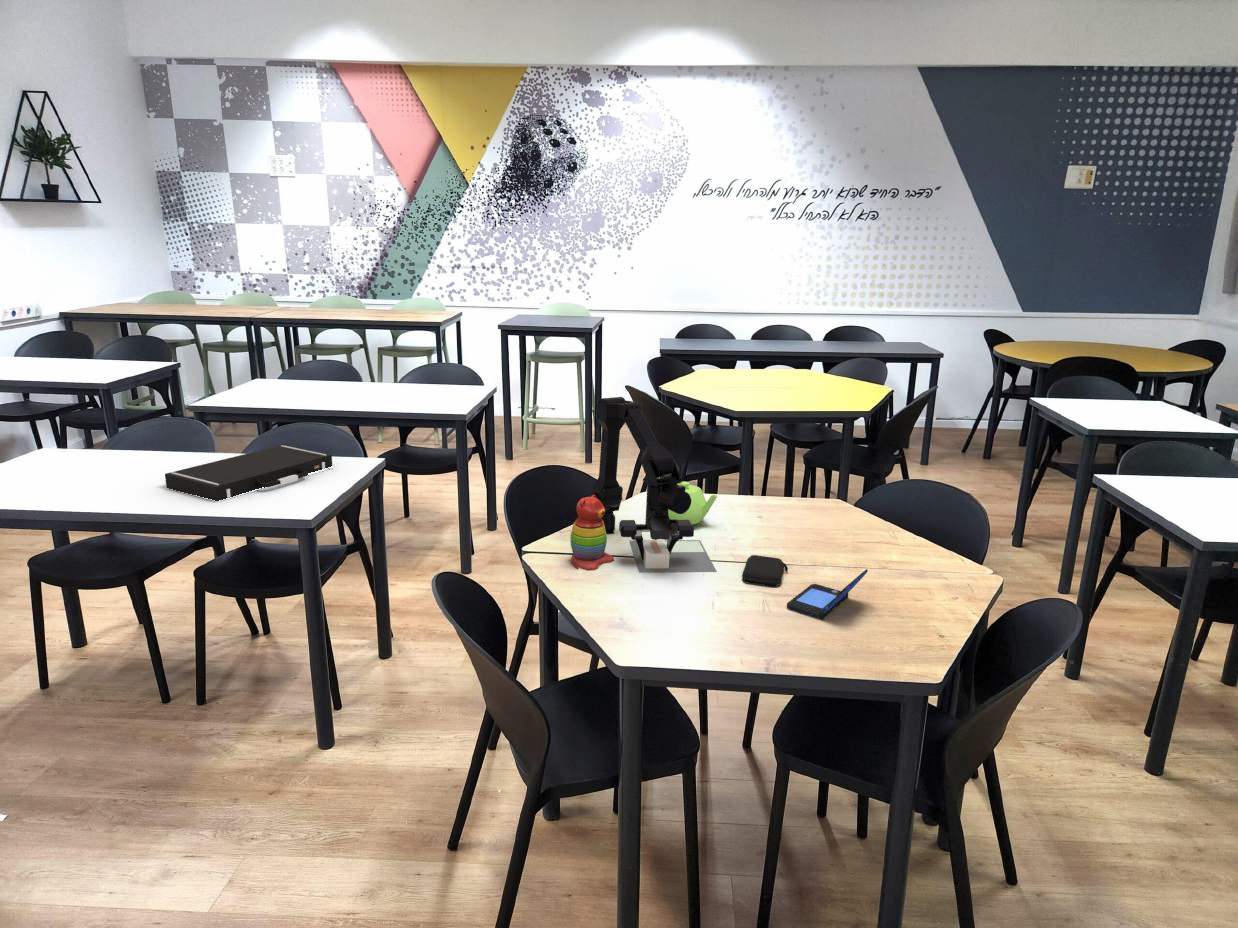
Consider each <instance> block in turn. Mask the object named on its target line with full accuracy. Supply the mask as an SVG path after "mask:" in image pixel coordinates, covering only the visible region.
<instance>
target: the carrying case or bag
mask: <svg viewBox="0 0 1238 928" xmlns="http://www.w3.org/2000/svg"><path fill="white" fill-rule="evenodd" d="M784 570H785V571H786V572H788V570H789V568H788V565H787V564H786V563H784V562H783V560H782V559H781V558H779V557H772V556H766V555H765V556H764V555H757V554H752V555H751V556H749V557H748V558H747V560H746V562H745V566H744V568H743V571H742V574H741V578H742V580H743V581H744V583H746V584H752V585H753V584H754V585H759V586H760V585H761V586H766V587H777V586H778V585H780V584H782V580H783V575H784Z"/></svg>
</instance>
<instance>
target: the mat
mask: <svg viewBox="0 0 1238 928" xmlns="http://www.w3.org/2000/svg"><path fill="white" fill-rule="evenodd" d="M628 541H629V546H630V548H631V551H632V555H633V558H634V561H635V564H636V568H637V572H638V573H639V574H642V573H643V574H645V573H646V574H649V573H650V574H651V573H653V574H654V573H657V574H658V573H662V574H663V573H717V572H718V571H717V569H716V567H715V566H714V563H713V562H712V560H711V558H710V556H709V555H708V552H707V550H706V549H705V547H704V545H703V543H702V541H701V539H690V540H689V539H682V540H678V541H677V542H676V543H675V545H674V547H673V549H672V551H671V554H670V556H669V568H645V565H644V562H643V560H642V558H641V554H640V551H639V547H638V544H637V542H636V540H632V539H631V540H628ZM643 541H664V542H665V544H666V546H667V540H664V539H657V540H653V539H649V540H647V539H646V540H645V539H643Z"/></svg>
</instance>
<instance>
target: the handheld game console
mask: <svg viewBox="0 0 1238 928" xmlns="http://www.w3.org/2000/svg"><path fill="white" fill-rule="evenodd" d="M868 572H869V570H868V569H865V570H864V571H862V572H861V573H860V574H859V575H858V576H857V577H855V578H854V579H853V580H852V581H850V583H848V584H846V586H845V587H844V588H843V589H842V590H839V589H834V588H832V587H827V586H825V585H821V584H817V583H813V584H810V585H809V586H807V587H806V588H805V589H804V590H803V591H801V592H800V593H798V594H797V595H796V596H795V597H793V598H792V599H791V600H789V601H788V602H787V603H786V608H787V609H788V610H789V611H793V612H795V613H799V614H802V615H804V616H808V617H811V618H815V619H816V620H820V621H824V620H825V619H826V617H828V616H829V615H830V614H831V613H832V612H833V610H834V609H835V608H837V607H839V606H840V605H841V604H842V603H844V601H846V600H847V599H848V598H849V593H850V591H852V589H853V588H854V587H856V586H857V585H858V583H859V582H860V581H861V580H862V579H863V578H864V577H865V575H866V574H867V573H868Z"/></svg>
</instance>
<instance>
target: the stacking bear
mask: <svg viewBox="0 0 1238 928" xmlns="http://www.w3.org/2000/svg"><path fill="white" fill-rule="evenodd" d="M590 496H591V495H590ZM590 496H585V497H582V498H580V500H579V501H578V502H577V505H576V513H577V516H578V517H577V518H576V520H575V521H574V522H573V523H572V527H571V532H570V537H569V538H570V540H569V541H570V547H571V552H572V555H571V558H570V563H571V565H572V566H573V567H575V568H576V569H577V570H578V569H581V570H584V571H596V570H598V569H599V567H600V566H602V565H604V564H605V565H606V564H610V563H611V564H612V562H615V559H614V556H613V555H611V554H609V553H607V552H605V551H606V547H607V542H608V541H607V539H608V534H606V530H605V525H604V521H603V520H602V519H601V518H602V517H603V515H604V513H605V508H604V506H603V504H602V503H601V501H600V500H599V499H597V498H596V495H592V496H591V497H590Z"/></svg>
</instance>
